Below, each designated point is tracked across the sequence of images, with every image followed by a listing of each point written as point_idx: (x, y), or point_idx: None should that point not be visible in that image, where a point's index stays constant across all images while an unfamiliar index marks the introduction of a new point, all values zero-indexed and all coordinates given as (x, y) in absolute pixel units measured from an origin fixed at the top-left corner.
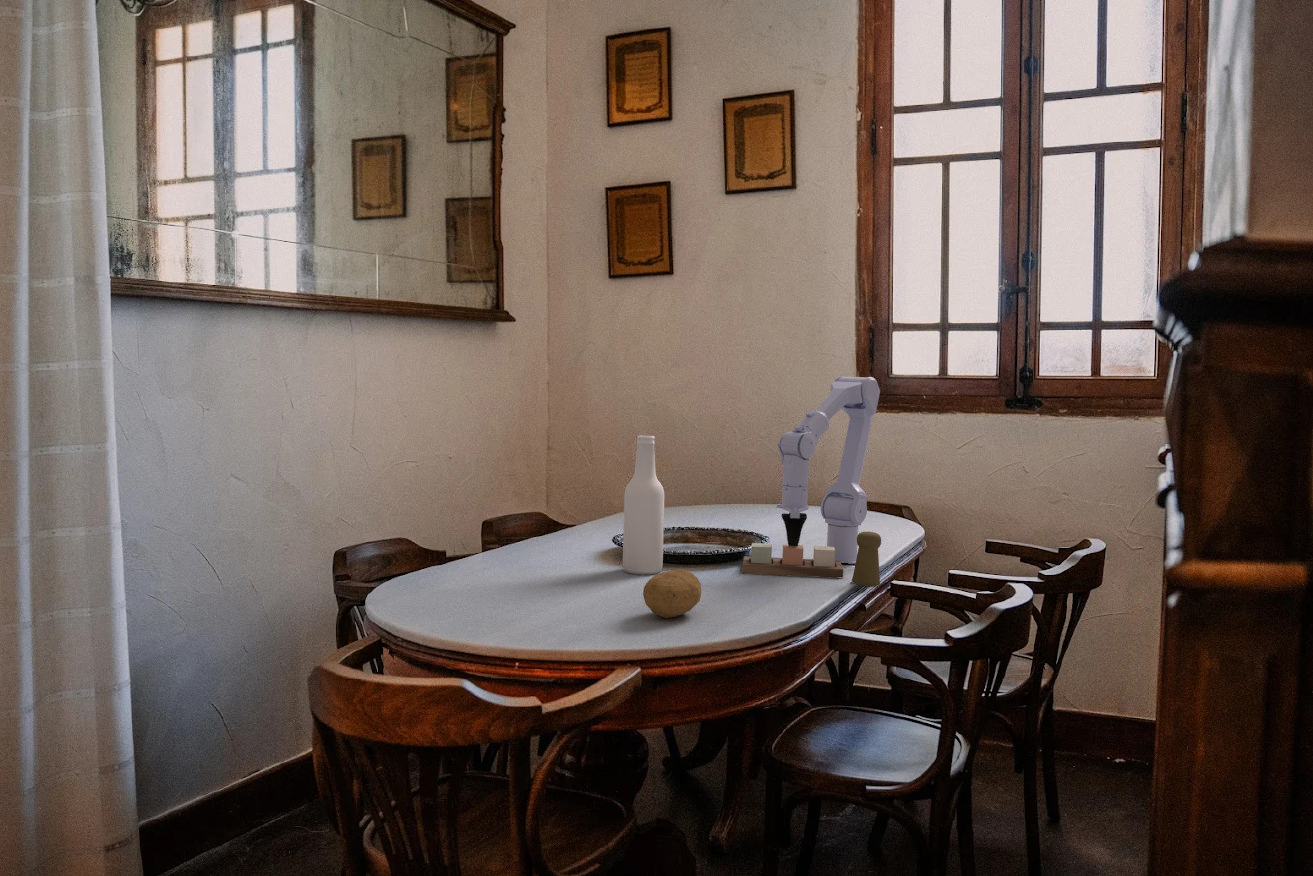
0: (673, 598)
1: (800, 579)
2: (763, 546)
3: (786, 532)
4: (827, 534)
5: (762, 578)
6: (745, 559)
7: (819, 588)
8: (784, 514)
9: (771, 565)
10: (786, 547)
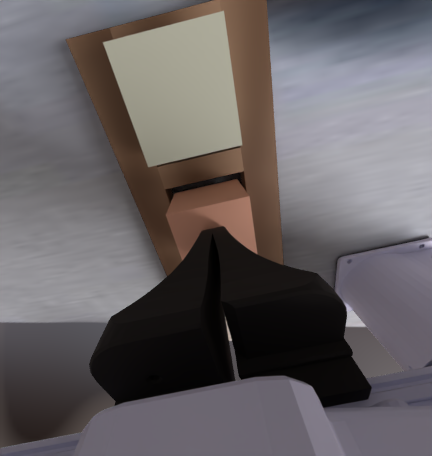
0: None
1: (124, 244)
2: (148, 119)
3: (185, 257)
4: None
5: (62, 149)
6: (184, 20)
7: (60, 293)
8: (172, 354)
9: (125, 167)
10: (184, 224)
